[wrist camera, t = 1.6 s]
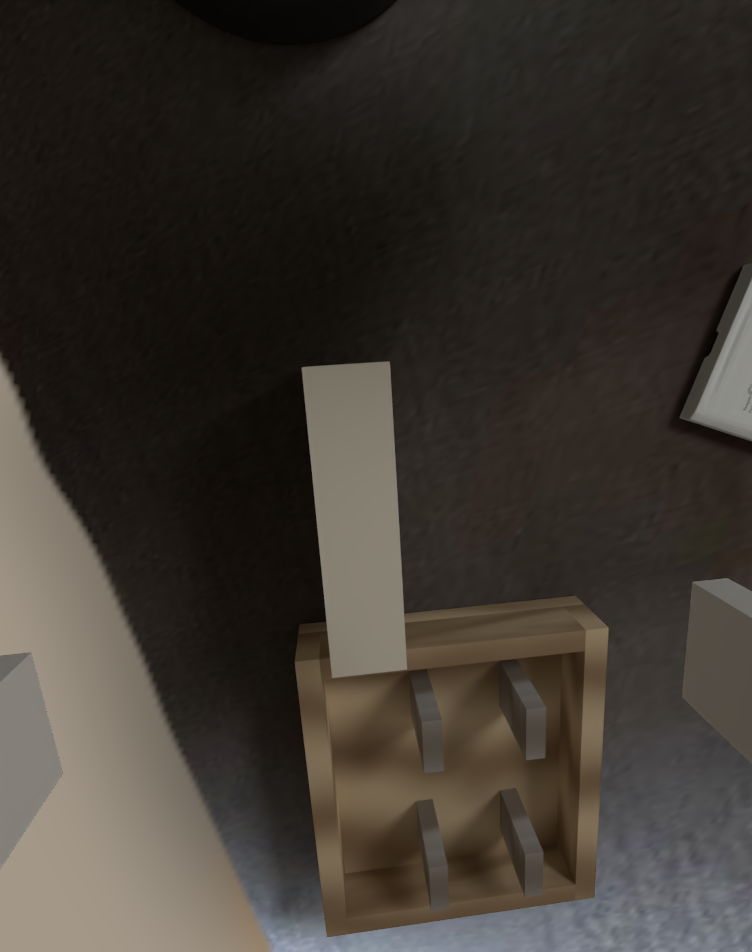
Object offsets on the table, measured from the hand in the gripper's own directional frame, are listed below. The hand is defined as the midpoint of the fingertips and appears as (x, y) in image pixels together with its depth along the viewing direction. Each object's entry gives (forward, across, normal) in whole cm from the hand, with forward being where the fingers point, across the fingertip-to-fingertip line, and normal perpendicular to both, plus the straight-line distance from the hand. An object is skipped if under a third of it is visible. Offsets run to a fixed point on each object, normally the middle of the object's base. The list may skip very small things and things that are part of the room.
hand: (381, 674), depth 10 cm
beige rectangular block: (+16, 0, 0) cm, 16 cm away
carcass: (+16, +4, -17) cm, 24 cm away
